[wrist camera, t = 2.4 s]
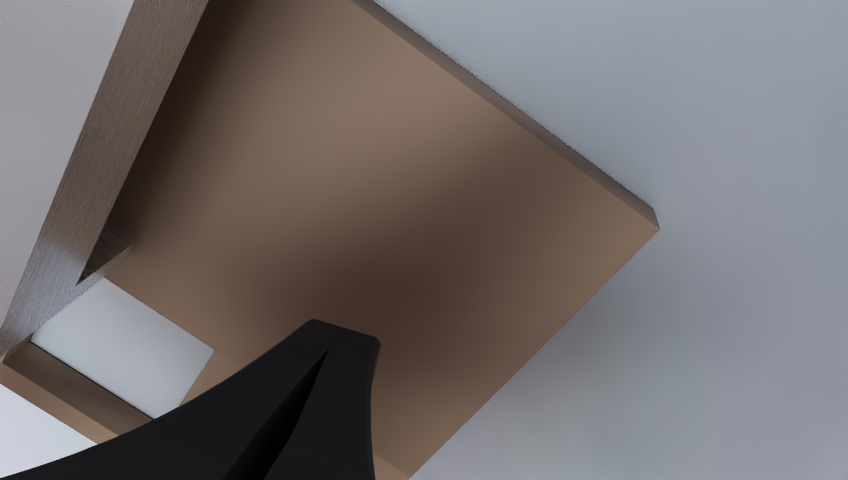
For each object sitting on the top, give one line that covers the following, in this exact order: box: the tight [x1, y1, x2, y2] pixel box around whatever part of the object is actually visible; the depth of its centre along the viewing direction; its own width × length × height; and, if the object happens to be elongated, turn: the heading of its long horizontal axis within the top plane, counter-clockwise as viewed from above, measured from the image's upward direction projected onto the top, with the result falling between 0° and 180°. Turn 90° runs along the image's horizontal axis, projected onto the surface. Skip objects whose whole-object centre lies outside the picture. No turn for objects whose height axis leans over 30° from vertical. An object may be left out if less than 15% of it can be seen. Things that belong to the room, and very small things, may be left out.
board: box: [0, 0, 660, 480], centre depth 14 cm, size 23×15×3 cm, turn 56°
